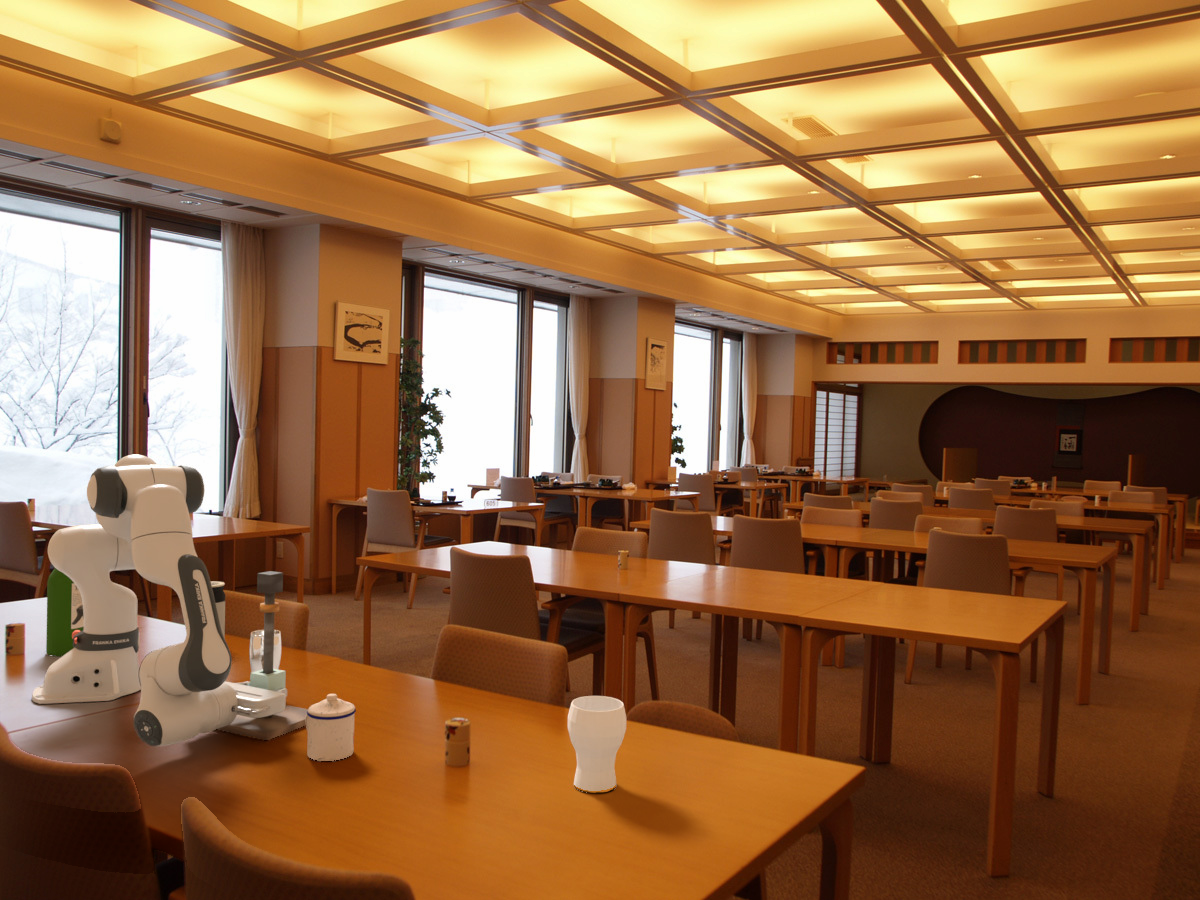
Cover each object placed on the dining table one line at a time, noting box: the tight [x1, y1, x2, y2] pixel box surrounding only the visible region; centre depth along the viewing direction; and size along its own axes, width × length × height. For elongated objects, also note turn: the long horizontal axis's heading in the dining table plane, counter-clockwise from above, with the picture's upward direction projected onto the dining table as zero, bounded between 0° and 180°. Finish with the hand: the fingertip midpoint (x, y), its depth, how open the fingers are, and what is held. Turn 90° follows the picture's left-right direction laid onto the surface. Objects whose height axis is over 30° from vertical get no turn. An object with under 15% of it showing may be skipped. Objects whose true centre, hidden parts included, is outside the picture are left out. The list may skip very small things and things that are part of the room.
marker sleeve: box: [249, 669, 287, 691], centre depth 194 cm, size 5×5×8 cm
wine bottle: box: [45, 567, 84, 657], centre depth 246 cm, size 9×9×32 cm
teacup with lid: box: [305, 693, 357, 762], centre depth 178 cm, size 12×9×12 cm
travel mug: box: [210, 580, 226, 639], centre depth 256 cm, size 8×8×18 cm
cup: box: [567, 695, 627, 791], centre depth 166 cm, size 11×11×15 cm
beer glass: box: [248, 629, 282, 673], centre depth 213 cm, size 7×7×15 cm
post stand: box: [217, 570, 308, 741], centre depth 194 cm, size 16×16×32 cm
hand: (267, 688), depth 194 cm, fingers open, 8 cm apart
